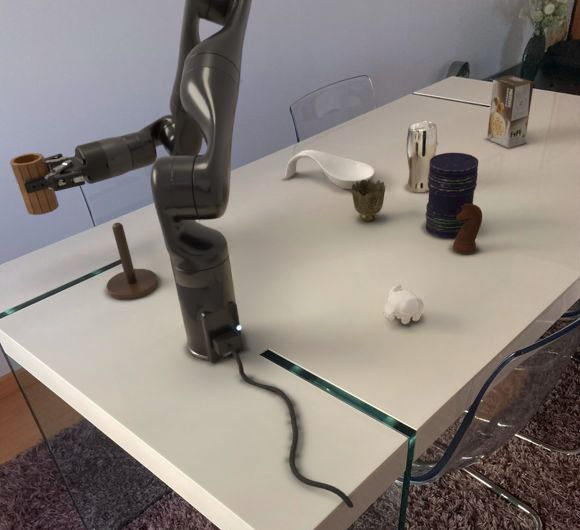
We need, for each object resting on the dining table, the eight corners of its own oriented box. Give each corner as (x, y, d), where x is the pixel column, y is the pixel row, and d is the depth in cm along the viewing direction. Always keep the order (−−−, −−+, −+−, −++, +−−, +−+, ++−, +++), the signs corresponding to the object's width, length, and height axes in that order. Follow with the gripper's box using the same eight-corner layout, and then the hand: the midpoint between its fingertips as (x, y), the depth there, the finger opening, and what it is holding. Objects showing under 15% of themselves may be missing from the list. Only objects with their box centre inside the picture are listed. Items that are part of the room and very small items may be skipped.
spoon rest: (381, 178, 162) (381, 151, 158) (363, 197, 154) (363, 168, 150) (298, 168, 172) (297, 141, 167) (277, 185, 164) (275, 157, 159)
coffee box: (526, 143, 174) (535, 81, 164) (507, 148, 172) (516, 86, 162) (503, 134, 181) (511, 74, 171) (485, 138, 179) (492, 78, 169)
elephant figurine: (375, 315, 114) (376, 287, 111) (415, 304, 116) (416, 276, 113) (393, 335, 109) (394, 306, 106) (434, 323, 111) (437, 294, 107)
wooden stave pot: (62, 208, 125) (46, 158, 119) (32, 217, 123) (14, 167, 117) (53, 199, 129) (38, 150, 123) (23, 207, 127) (6, 158, 121)
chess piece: (453, 243, 133) (457, 198, 127) (478, 244, 132) (484, 199, 126) (451, 254, 130) (456, 208, 124) (477, 255, 128) (483, 209, 122)
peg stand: (166, 288, 127) (151, 224, 119) (118, 305, 123) (100, 240, 115) (146, 268, 134) (131, 206, 126) (100, 284, 130) (82, 222, 122)
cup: (346, 223, 144) (345, 190, 139) (359, 209, 149) (359, 177, 144) (377, 228, 141) (378, 194, 136) (389, 214, 146) (390, 181, 141)
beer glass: (433, 193, 153) (437, 131, 144) (404, 193, 154) (406, 131, 145) (434, 181, 158) (438, 120, 149) (405, 181, 160) (408, 121, 150)
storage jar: (437, 242, 134) (442, 174, 125) (417, 223, 141) (420, 157, 132) (480, 233, 135) (488, 165, 126) (458, 214, 143) (464, 149, 134)
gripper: (87, 132, 131) (4, 153, 124) (112, 150, 121) (24, 174, 114) (96, 167, 135) (17, 190, 129) (121, 187, 125) (37, 213, 119)
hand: (20, 182), depth 121 cm, fingers closed on wooden stave pot, 6 cm apart
